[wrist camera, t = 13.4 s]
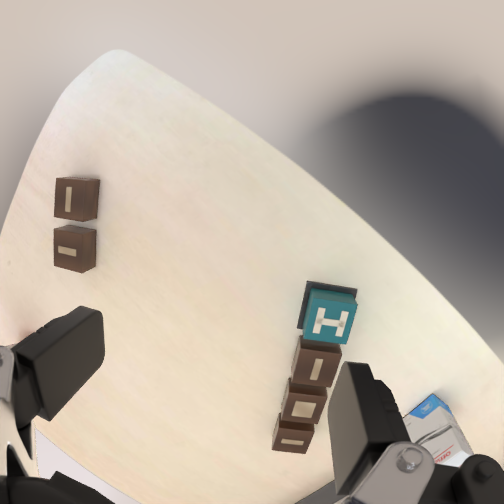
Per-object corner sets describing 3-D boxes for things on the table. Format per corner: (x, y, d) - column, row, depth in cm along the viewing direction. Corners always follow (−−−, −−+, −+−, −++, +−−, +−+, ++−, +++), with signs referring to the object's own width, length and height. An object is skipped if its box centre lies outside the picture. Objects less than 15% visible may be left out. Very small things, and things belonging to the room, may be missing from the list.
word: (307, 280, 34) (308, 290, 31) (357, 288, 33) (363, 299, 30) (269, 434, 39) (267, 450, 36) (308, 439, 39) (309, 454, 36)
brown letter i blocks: (70, 176, 34) (55, 177, 31) (100, 179, 34) (85, 180, 31) (67, 260, 36) (53, 266, 33) (95, 266, 36) (81, 273, 33)
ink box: (432, 391, 35) (473, 466, 21) (448, 405, 36) (486, 475, 21) (386, 429, 37) (409, 509, 23) (403, 441, 38) (428, 515, 23)
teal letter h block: (311, 287, 34) (313, 298, 31) (352, 294, 33) (358, 304, 30) (302, 326, 35) (303, 339, 32) (342, 331, 34) (346, 345, 31)
